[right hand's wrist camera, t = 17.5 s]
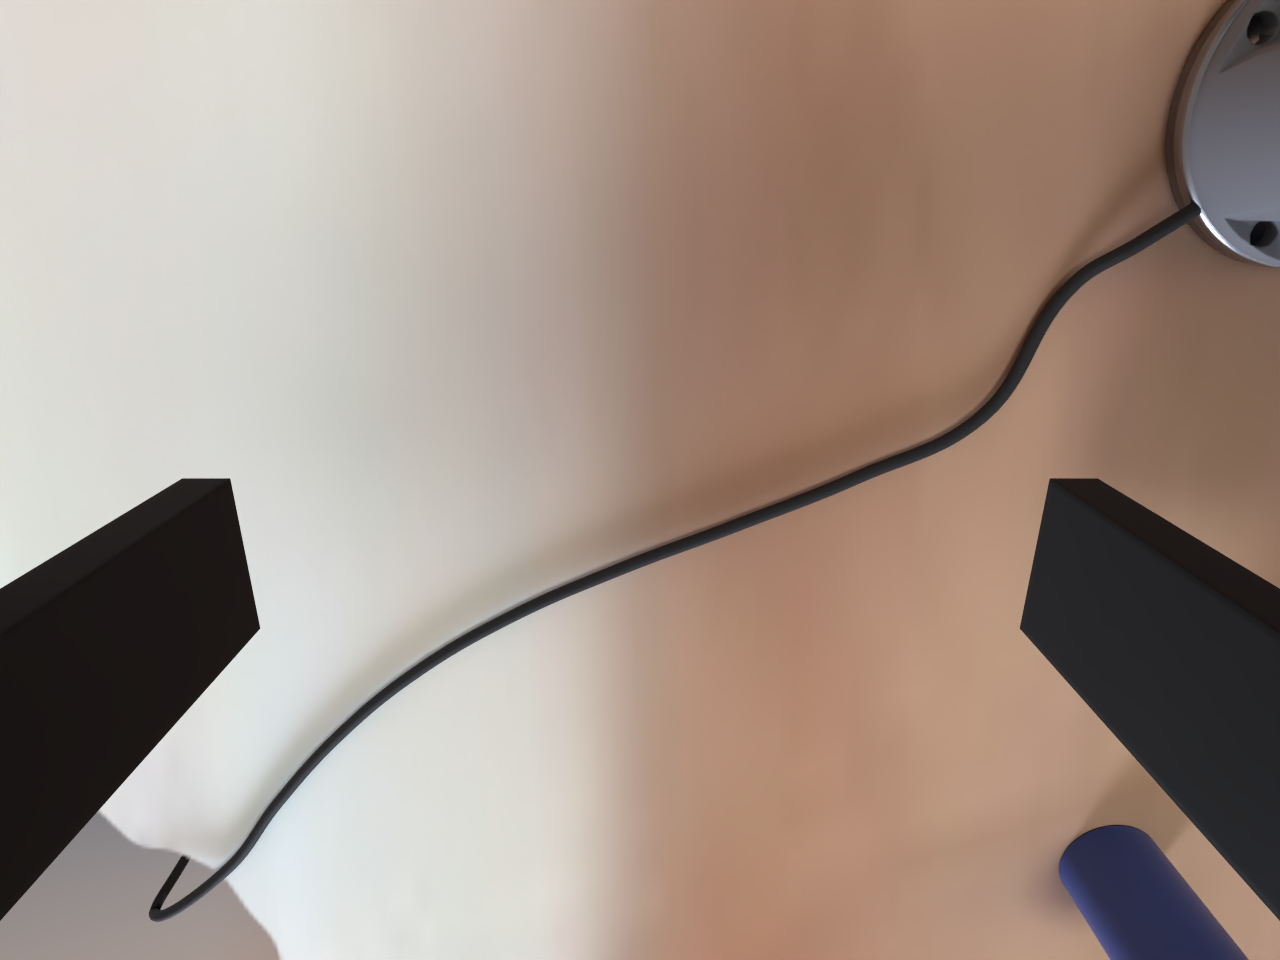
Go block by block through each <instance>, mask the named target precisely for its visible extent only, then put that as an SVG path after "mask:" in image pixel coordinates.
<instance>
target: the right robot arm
mask: <svg viewBox="0 0 1280 960" xmlns="http://www.w3.org/2000/svg"><path fill="white" fill-rule="evenodd" d="M1166 162H1167V172H1168V177H1169V182H1170V186H1171V189H1172V192H1173V195H1174V199H1175V201H1176V203H1177V205H1178V207H1179V211H1178V212H1176V213H1174V214H1173V215H1171V216H1170V217H1168V218H1166V219H1165V220H1163V221H1162V222H1160V223H1158V224H1157V225H1155V226H1154V227H1152V228H1150V229H1149V230H1147V231H1146V232H1144V233H1142V234H1141V235H1139V236H1137V237H1136V238H1134V239H1133V240H1131V241H1129V242H1127V243H1126V244H1124V245H1122V246H1120V247H1118V248H1116V249H1114V250H1112V251H1110V252H1108V253H1106V254H1105V255H1103V256H1101V257H1099V258H1097V259H1095V260H1094V261H1092V262H1090V263H1089V264H1087V265H1086V266H1084V267H1083V268H1081V269H1080V270H1079V271H1078V272H1076V273H1075V274H1074V275H1073V276H1072V277H1071V278H1069V280H1068V281H1067V282H1066V283H1065V284H1064V285H1063V286H1062V287H1061V288H1060V289H1059V290H1058V291H1057V292H1056V293H1055V295H1054V296H1053V297H1052V298H1051V300H1050V301H1049V302H1048V303H1047V305H1046V306H1045V308H1044V309H1043V311H1042V312H1041V314H1040V315H1039V317H1038V319H1037V320H1036V322H1035V324H1034V325H1033V327H1032V329H1031V331H1030V333H1029V335H1028V337H1027V339H1026V341H1025V343H1024V345H1023V347H1022V349H1021V351H1020V353H1019V355H1018V357H1017V359H1016V361H1015V363H1014V365H1013V366H1012V368H1011V370H1010V372H1009V374H1008V375H1007V377H1006V379H1005V380H1004V382H1003V383H1002V385H1001V386H1000V388H999V389H998V390H997V392H996V393H995V394H994V395H993V396H992V398H991V399H990V400H989V401H988V402H987V403H986V404H985V405H984V406H983V407H982V408H981V409H980V410H979V411H978V412H976V413H975V414H974V415H973V416H971V417H970V418H969V419H968V420H966V421H965V422H963V423H962V424H961V425H959V426H958V427H956V428H955V429H953V430H951V431H950V432H948V433H946V434H944V435H943V436H941V437H939V438H937V439H935V440H933V441H931V442H928V443H926V444H924V445H921V446H919V447H916V448H914V449H911V450H909V451H906V452H903V453H901V454H898V455H895V456H893V457H890V458H887V459H885V460H882V461H880V462H877V463H875V464H872V465H869V466H867V467H865V468H862V469H860V470H858V471H856V472H853V473H851V474H849V475H846V476H844V477H842V478H839V479H837V480H835V481H832V482H830V483H828V484H825V485H823V486H820V487H818V488H815V489H813V490H810V491H808V492H805V493H803V494H800V495H798V496H795V497H792V498H790V499H787V500H785V501H782V502H779V503H777V504H774V505H771V506H769V507H766V508H764V509H761V510H758V511H756V512H753V513H750V514H748V515H745V516H743V517H740V518H737V519H735V520H732V521H730V522H727V523H724V524H722V525H719V526H716V527H714V528H711V529H708V530H706V531H703V532H700V533H698V534H695V535H692V536H689V537H687V538H684V539H681V540H678V541H676V542H673V543H670V544H667V545H665V546H662V547H659V548H657V549H654V550H651V551H649V552H646V553H643V554H641V555H638V556H636V557H633V558H631V559H628V560H626V561H623V562H621V563H618V564H616V565H613V566H611V567H608V568H606V569H603V570H601V571H598V572H596V573H593V574H591V575H589V576H586V577H584V578H581V579H579V580H576V581H574V582H571V583H569V584H567V585H564V586H562V587H560V588H557V589H555V590H553V591H550V592H548V593H546V594H544V595H542V596H539V597H537V598H535V599H533V600H531V601H529V602H527V603H525V604H523V605H520V606H518V607H516V608H514V609H512V610H510V611H508V612H506V613H505V614H503V615H501V616H499V617H497V618H495V619H493V620H491V621H489V622H487V623H485V624H483V625H481V626H480V627H478V628H476V629H474V630H472V631H470V632H469V633H467V634H465V635H463V636H462V637H460V638H458V639H456V640H455V641H453V642H451V643H450V644H448V645H446V646H445V647H443V648H442V649H440V650H438V651H437V652H435V653H434V654H432V655H431V656H429V657H428V658H426V659H425V660H423V661H422V662H420V663H419V664H417V665H416V666H414V667H413V668H412V669H410V670H409V671H407V672H406V673H404V674H403V675H402V676H400V677H399V678H398V679H396V680H395V681H394V682H392V683H391V684H389V685H388V686H387V687H386V688H384V689H383V690H382V691H380V692H379V693H378V694H377V695H375V696H374V697H373V698H372V699H371V700H369V701H368V702H367V703H366V704H365V705H364V706H362V707H361V708H360V709H359V710H358V711H357V712H356V713H355V714H353V715H352V716H351V717H350V718H349V719H348V720H347V721H346V722H345V723H344V724H343V725H342V726H341V727H339V728H338V729H337V730H336V731H335V732H334V733H333V734H332V735H331V736H330V737H329V738H328V739H327V740H326V741H325V742H324V743H323V744H322V745H321V746H320V747H319V748H318V749H317V750H316V751H315V752H314V753H313V754H312V756H311V757H310V758H309V759H308V760H307V761H306V762H305V763H304V764H303V766H302V767H301V768H300V769H299V770H298V771H297V772H296V774H295V775H294V776H293V777H292V778H291V780H290V781H289V782H288V783H287V784H286V786H285V787H284V788H283V789H282V790H281V792H280V793H279V794H278V795H277V796H276V798H275V799H274V800H273V801H272V803H271V804H270V805H269V807H268V808H267V809H266V811H265V812H264V813H263V815H262V816H261V818H260V819H259V821H258V822H257V824H256V825H255V827H254V828H253V830H252V832H251V833H250V835H249V836H248V838H247V839H246V841H245V842H244V844H243V845H242V846H241V847H240V849H239V850H238V851H237V852H236V854H235V855H234V856H233V857H232V858H231V859H230V860H229V861H228V862H227V863H226V864H225V865H224V866H223V867H222V868H220V869H219V870H218V871H217V872H216V873H215V874H214V875H212V876H211V877H210V878H209V879H208V880H207V881H205V882H204V883H203V884H202V885H200V886H199V887H198V888H197V889H195V890H194V891H193V892H191V893H190V894H189V895H187V896H186V897H184V898H183V899H182V900H180V901H179V902H177V903H175V904H174V905H172V906H170V907H168V908H166V909H164V910H161V907H162V905H163V903H164V901H165V899H166V898H167V896H168V894H169V893H170V891H171V890H172V888H173V886H174V885H175V883H176V882H177V880H178V879H179V877H180V875H181V874H182V872H183V870H184V869H185V867H186V865H187V864H188V862H189V860H190V859H191V858H190V857H188V856H186V855H183V854H182V856H181V858H180V859H179V861H178V863H177V864H176V866H175V867H174V869H173V871H172V872H171V874H170V875H169V877H168V878H167V880H166V882H165V883H164V885H163V886H162V888H161V889H160V891H159V892H158V894H157V896H156V897H155V899H154V901H153V903H152V905H151V908H150V911H149V917H150V919H151V920H153V921H156V922H160V921H163V920H166V919H169V918H171V917H173V916H175V915H177V914H178V913H180V912H182V911H183V910H185V909H186V908H188V907H189V906H191V905H192V904H193V903H195V902H196V901H198V900H199V899H200V898H201V897H203V896H204V895H205V894H207V893H208V892H209V891H210V890H211V889H213V888H214V887H215V886H216V885H217V884H219V883H220V882H221V881H222V880H223V879H224V878H226V877H227V876H228V875H229V874H230V873H231V872H232V871H233V870H234V869H235V868H236V867H237V866H238V865H239V864H240V863H241V862H242V861H243V860H244V859H245V857H246V856H247V855H248V854H249V852H250V851H251V849H252V848H253V847H254V845H255V844H256V842H257V841H258V839H259V838H260V836H261V835H262V833H263V832H264V830H265V828H266V827H267V825H268V824H269V823H270V821H271V820H272V818H273V817H274V816H275V814H276V813H277V812H278V810H279V809H280V808H281V807H282V805H283V804H284V803H285V802H286V801H287V799H288V798H289V797H290V796H291V795H292V793H293V792H294V791H295V790H296V789H297V788H298V786H299V785H300V784H301V783H302V782H303V780H304V779H305V778H306V777H307V776H308V775H309V774H310V772H311V771H312V770H313V769H314V768H315V767H316V766H317V765H318V764H319V763H320V762H321V761H322V759H323V758H324V757H325V756H326V755H327V754H328V753H329V752H330V751H331V750H332V749H333V748H334V747H335V746H336V745H337V744H338V743H340V742H341V741H342V740H343V739H344V738H345V737H346V736H347V735H348V734H349V733H350V732H351V731H352V730H353V729H354V728H356V727H357V726H358V725H359V724H360V723H361V722H362V721H363V720H364V719H366V718H367V717H368V716H369V715H370V714H371V713H372V712H374V711H375V710H376V709H377V708H378V707H380V706H381V705H382V704H383V703H385V702H386V701H387V700H388V699H390V698H391V697H392V696H394V695H395V694H396V693H398V692H399V691H400V690H402V689H403V688H404V687H406V686H407V685H409V684H410V683H411V682H413V681H414V680H416V679H417V678H419V677H420V676H421V675H423V674H424V673H426V672H427V671H429V670H430V669H432V668H433V667H435V666H436V665H438V664H439V663H441V662H442V661H444V660H446V659H447V658H449V657H450V656H452V655H454V654H455V653H457V652H459V651H460V650H462V649H464V648H466V647H467V646H469V645H471V644H473V643H475V642H476V641H478V640H480V639H482V638H484V637H486V636H487V635H489V634H491V633H493V632H495V631H497V630H499V629H501V628H503V627H505V626H507V625H509V624H511V623H513V622H515V621H517V620H519V619H521V618H523V617H525V616H527V615H529V614H531V613H533V612H535V611H537V610H539V609H542V608H544V607H546V606H548V605H550V604H553V603H555V602H557V601H559V600H562V599H564V598H566V597H569V596H571V595H574V594H576V593H578V592H581V591H583V590H586V589H588V588H591V587H593V586H596V585H598V584H601V583H603V582H606V581H608V580H611V579H613V578H615V577H618V576H620V575H623V574H625V573H628V572H630V571H633V570H635V569H638V568H641V567H643V566H646V565H648V564H651V563H654V562H656V561H659V560H662V559H664V558H667V557H670V556H673V555H675V554H678V553H681V552H684V551H686V550H689V549H692V548H695V547H697V546H700V545H703V544H706V543H708V542H711V541H714V540H717V539H719V538H722V537H725V536H727V535H730V534H732V533H735V532H738V531H740V530H743V529H746V528H748V527H751V526H753V525H756V524H759V523H761V522H764V521H767V520H769V519H772V518H775V517H777V516H780V515H783V514H785V513H788V512H791V511H793V510H796V509H798V508H801V507H804V506H806V505H809V504H811V503H814V502H816V501H819V500H821V499H824V498H826V497H829V496H831V495H834V494H836V493H839V492H841V491H843V490H846V489H848V488H850V487H853V486H855V485H857V484H859V483H862V482H864V481H866V480H869V479H871V478H873V477H876V476H878V475H881V474H884V473H886V472H889V471H891V470H894V469H897V468H899V467H902V466H905V465H908V464H910V463H913V462H916V461H918V460H921V459H923V458H926V457H928V456H930V455H933V454H935V453H937V452H939V451H941V450H943V449H946V448H947V447H949V446H951V445H953V444H955V443H957V442H958V441H960V440H961V439H963V438H965V437H966V436H968V435H969V434H970V433H972V432H973V431H975V430H976V429H977V428H979V427H980V426H981V425H982V424H984V423H985V422H986V421H987V420H988V419H989V418H990V417H992V416H993V415H994V414H995V413H996V412H997V411H998V410H999V409H1000V408H1001V406H1002V405H1003V404H1004V403H1005V402H1006V401H1007V400H1008V398H1009V397H1010V395H1011V394H1012V393H1013V391H1014V390H1015V388H1016V387H1017V385H1018V384H1019V382H1020V380H1021V379H1022V377H1023V375H1024V373H1025V372H1026V370H1027V368H1028V366H1029V364H1030V362H1031V360H1032V358H1033V356H1034V354H1035V352H1036V350H1037V348H1038V346H1039V344H1040V342H1041V340H1042V338H1043V337H1044V335H1045V333H1046V331H1047V329H1048V328H1049V326H1050V324H1051V323H1052V321H1053V319H1054V318H1055V316H1056V315H1057V314H1058V312H1059V311H1060V309H1061V308H1062V307H1063V306H1064V304H1065V303H1066V302H1067V301H1068V300H1069V298H1070V297H1071V296H1072V295H1073V294H1074V293H1075V292H1076V291H1077V290H1078V289H1079V288H1080V287H1081V286H1082V285H1084V284H1085V283H1086V282H1087V281H1089V280H1090V279H1091V278H1093V277H1094V276H1096V275H1097V274H1099V273H1101V272H1102V271H1104V270H1106V269H1108V268H1110V267H1112V266H1114V265H1116V264H1118V263H1120V262H1122V261H1124V260H1126V259H1127V258H1129V257H1131V256H1133V255H1135V254H1137V253H1138V252H1140V251H1142V250H1143V249H1145V248H1147V247H1148V246H1150V245H1152V244H1153V243H1155V242H1156V241H1158V240H1160V239H1161V238H1163V237H1165V236H1166V235H1168V234H1169V233H1171V232H1173V231H1174V230H1176V229H1178V228H1179V227H1181V226H1182V225H1184V224H1186V223H1188V224H1189V226H1190V227H1191V228H1192V229H1193V231H1194V232H1195V233H1196V234H1197V235H1198V236H1199V237H1200V238H1201V239H1202V240H1203V241H1204V242H1206V243H1207V244H1208V245H1209V246H1211V247H1212V248H1213V249H1215V250H1217V251H1218V252H1220V253H1222V254H1224V255H1225V256H1228V257H1230V258H1232V259H1235V260H1237V261H1241V262H1244V263H1248V264H1252V265H1258V266H1265V267H1274V268H1280V0H1229V1H1228V2H1227V3H1226V4H1225V5H1224V6H1223V8H1222V9H1221V10H1220V11H1219V12H1218V14H1217V15H1216V16H1215V17H1214V19H1213V20H1212V21H1211V23H1210V24H1209V25H1208V27H1207V28H1206V30H1205V31H1204V33H1203V34H1202V36H1201V38H1200V39H1199V41H1198V42H1197V44H1196V46H1195V48H1194V49H1193V51H1192V53H1191V55H1190V57H1189V59H1188V61H1187V63H1186V65H1185V67H1184V70H1183V72H1182V74H1181V76H1180V79H1179V82H1178V85H1177V88H1176V90H1175V93H1174V97H1173V101H1172V105H1171V108H1170V113H1169V119H1168V125H1167V135H1166ZM259 629H260V625H259V620H258V615H257V610H256V605H255V600H254V595H253V590H252V585H251V580H250V575H249V570H248V565H247V560H246V555H245V550H244V545H243V540H242V535H241V530H240V525H239V520H238V515H237V510H236V505H235V500H234V495H233V490H232V485H231V480H230V479H181V480H179V481H178V482H176V483H174V484H173V485H171V486H169V487H168V488H166V489H164V490H163V491H161V492H159V493H158V494H156V495H154V496H153V497H151V498H149V499H148V500H146V501H145V502H143V503H141V504H140V505H138V506H136V507H135V508H133V509H131V510H130V511H128V512H126V513H125V514H123V515H121V516H120V517H118V518H116V519H115V520H113V521H112V522H110V523H108V524H107V525H105V526H103V527H102V528H100V529H98V530H97V531H95V532H93V533H92V534H90V535H88V536H87V537H85V538H83V539H82V540H80V541H78V542H77V543H75V544H74V545H72V546H70V547H69V548H67V549H65V550H64V551H62V552H60V553H59V554H57V555H55V556H54V557H52V558H50V559H49V560H47V561H45V562H44V563H42V564H41V565H39V566H37V567H36V568H34V569H32V570H31V571H29V572H27V573H26V574H24V575H22V576H21V577H19V578H17V579H16V580H14V581H12V582H11V583H9V584H8V585H6V586H4V587H3V588H1V589H0V920H1V919H2V918H3V917H4V916H5V915H6V914H7V912H8V911H9V910H10V909H11V908H12V907H13V906H14V905H15V903H16V902H17V901H18V900H19V899H20V898H21V897H22V896H23V894H24V893H25V892H26V891H27V890H28V889H29V888H30V887H31V886H32V884H33V883H34V882H35V881H36V880H37V879H38V878H39V876H40V875H41V874H42V873H43V872H44V871H45V870H46V869H47V868H48V866H49V865H50V864H51V863H52V862H53V861H54V860H55V859H56V857H57V856H58V855H59V854H60V853H61V852H62V851H63V850H64V848H65V847H66V846H67V845H68V844H69V843H70V842H71V840H72V839H73V838H74V837H75V836H76V835H77V834H78V833H79V831H80V830H81V829H82V828H83V827H84V826H85V825H86V824H87V823H88V821H89V820H90V819H91V818H92V817H93V816H94V815H95V814H96V812H97V811H98V810H99V809H100V808H101V807H102V806H103V805H104V803H105V802H106V801H107V800H108V799H109V798H110V797H111V796H112V794H113V793H114V792H115V791H116V790H117V789H118V788H119V787H120V785H121V784H122V783H123V782H124V781H125V780H126V779H127V778H128V776H129V775H130V774H131V773H132V772H133V771H134V770H135V769H136V767H137V766H138V765H139V764H140V763H141V762H142V761H143V760H144V758H145V757H146V756H147V755H148V754H149V753H150V752H151V751H152V749H153V748H154V747H155V746H156V745H157V744H158V743H159V742H160V740H161V739H162V738H163V737H164V736H165V735H166V734H167V733H168V731H169V730H170V729H171V728H172V727H173V726H174V725H175V724H176V722H177V721H178V720H179V719H180V718H181V717H182V716H183V715H184V713H185V712H186V711H187V710H188V709H189V708H190V707H191V706H192V704H193V703H194V702H195V701H196V700H197V699H198V698H199V697H200V695H201V694H202V693H203V692H204V691H205V690H206V689H207V688H208V686H209V685H210V684H211V683H212V682H213V681H214V680H215V679H216V677H217V676H218V675H219V674H220V673H221V672H222V671H223V670H224V668H225V667H226V666H227V665H228V664H229V663H230V662H231V661H232V659H233V658H234V657H235V656H236V655H237V654H238V653H239V652H240V650H241V649H242V648H243V647H244V646H245V645H246V644H247V643H248V641H249V640H250V639H251V638H252V637H253V636H254V635H255V634H256V632H257V631H258V630H259ZM1020 629H1021V630H1022V631H1023V632H1024V634H1025V635H1026V636H1027V637H1028V638H1029V639H1030V640H1031V641H1032V643H1033V644H1034V645H1035V646H1036V647H1037V648H1038V649H1039V650H1040V652H1041V653H1042V654H1043V655H1044V656H1045V657H1046V658H1047V659H1048V661H1049V662H1050V663H1051V664H1052V665H1053V666H1054V667H1055V668H1056V670H1057V671H1058V672H1059V673H1060V674H1061V675H1062V676H1063V677H1064V679H1065V680H1066V681H1067V682H1068V683H1069V684H1070V685H1071V686H1072V688H1073V689H1074V690H1075V691H1076V692H1077V693H1078V694H1079V695H1080V697H1081V698H1082V699H1083V700H1084V701H1085V702H1086V703H1087V704H1088V706H1089V707H1090V708H1091V709H1092V710H1093V711H1094V712H1095V713H1096V715H1097V716H1098V717H1099V718H1100V719H1101V720H1102V721H1103V722H1104V724H1105V725H1106V726H1107V727H1108V728H1109V729H1110V730H1111V731H1112V733H1113V734H1114V735H1115V736H1116V737H1117V738H1118V739H1119V740H1120V742H1121V743H1122V744H1123V745H1124V746H1125V747H1126V748H1127V749H1128V751H1129V752H1130V753H1131V754H1132V755H1133V756H1134V757H1135V758H1136V760H1137V761H1138V762H1139V763H1140V764H1141V765H1142V766H1143V767H1144V769H1145V770H1146V771H1147V772H1148V773H1149V774H1150V775H1151V776H1152V778H1153V779H1154V780H1155V781H1156V782H1157V783H1158V784H1159V785H1160V787H1161V788H1162V789H1163V790H1164V791H1165V792H1166V793H1167V794H1168V796H1169V797H1170V798H1171V799H1172V800H1173V801H1174V802H1175V803H1176V805H1177V806H1178V807H1179V808H1180V809H1181V810H1182V811H1183V812H1184V814H1185V815H1186V816H1187V817H1188V818H1189V819H1190V820H1191V821H1192V823H1193V824H1194V825H1195V826H1196V827H1197V828H1198V829H1199V830H1200V832H1201V833H1202V834H1203V835H1204V836H1205V837H1206V838H1207V839H1208V841H1209V842H1210V843H1211V844H1212V845H1213V846H1214V847H1215V848H1216V850H1217V851H1218V852H1219V853H1220V854H1221V855H1222V856H1223V857H1224V859H1225V860H1226V861H1227V862H1228V863H1229V864H1230V865H1231V866H1232V868H1233V869H1234V870H1235V871H1236V872H1237V873H1238V874H1239V875H1240V877H1241V878H1242V879H1243V880H1244V881H1245V882H1246V883H1247V884H1248V886H1249V887H1250V888H1251V889H1252V890H1253V891H1254V892H1255V893H1256V895H1257V896H1258V897H1259V898H1260V899H1261V900H1262V901H1263V902H1264V904H1265V905H1266V906H1267V907H1268V908H1269V909H1270V910H1271V911H1272V913H1273V914H1274V915H1275V916H1276V917H1277V918H1278V919H1279V920H1280V589H1279V588H1277V587H1276V586H1274V585H1272V584H1271V583H1269V582H1268V581H1266V580H1264V579H1263V578H1261V577H1259V576H1258V575H1256V574H1254V573H1253V572H1251V571H1249V570H1248V569H1246V568H1244V567H1243V566H1241V565H1239V564H1238V563H1236V562H1235V561H1233V560H1231V559H1230V558H1228V557H1226V556H1225V555H1223V554H1221V553H1220V552H1218V551H1216V550H1215V549H1213V548H1211V547H1210V546H1208V545H1206V544H1205V543H1203V542H1202V541H1200V540H1198V539H1197V538H1195V537H1193V536H1192V535H1190V534H1188V533H1187V532H1185V531H1183V530H1182V529H1180V528H1178V527H1177V526H1175V525H1173V524H1172V523H1170V522H1168V521H1167V520H1165V519H1164V518H1162V517H1160V516H1159V515H1157V514H1155V513H1154V512H1152V511H1150V510H1149V509H1147V508H1145V507H1144V506H1142V505H1140V504H1139V503H1137V502H1135V501H1134V500H1132V499H1131V498H1129V497H1127V496H1126V495H1124V494H1122V493H1121V492H1119V491H1117V490H1116V489H1114V488H1112V487H1111V486H1109V485H1107V484H1106V483H1104V482H1102V481H1101V480H1099V479H1050V480H1049V485H1048V490H1047V495H1046V500H1045V505H1044V510H1043V515H1042V520H1041V525H1040V530H1039V535H1038V540H1037V545H1036V550H1035V555H1034V560H1033V565H1032V570H1031V575H1030V580H1029V585H1028V590H1027V595H1026V600H1025V605H1024V610H1023V615H1022V620H1021V625H1020Z"/></svg>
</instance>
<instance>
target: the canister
mask: <svg viewBox="0 0 1280 960" xmlns="http://www.w3.org/2000/svg"><path fill="white" fill-rule="evenodd" d="M1059 874H1060V878H1061V880H1062V882H1063V884H1064V886H1065V887H1066V889H1067V891H1068V892H1069V894H1070V895H1071V897H1072V899H1073V900H1074V902H1075V903H1076V905H1077V907H1078V908H1079V910H1080V912H1081V913H1082V915H1083V916H1084V918H1085V920H1086V921H1087V923H1088V924H1089V926H1090V928H1091V929H1092V931H1093V932H1094V934H1095V936H1096V937H1097V939H1098V941H1099V942H1100V944H1101V945H1102V947H1103V949H1104V950H1105V952H1106V953H1107V955H1108V957H1109V958H1110V960H1249V959H1248V958H1247V957H1246V956H1245V954H1244V953H1243V952H1242V951H1241V949H1240V948H1239V947H1238V946H1237V944H1236V943H1235V942H1234V941H1233V939H1232V938H1231V937H1230V936H1229V934H1228V933H1227V932H1226V931H1225V929H1224V928H1223V927H1222V926H1221V924H1220V923H1219V922H1218V921H1217V920H1216V918H1215V917H1214V916H1213V915H1212V913H1211V912H1210V911H1209V910H1208V908H1207V907H1206V906H1205V905H1204V903H1203V902H1202V901H1201V900H1200V898H1199V897H1198V896H1197V895H1196V893H1195V892H1194V891H1193V890H1192V888H1191V887H1190V886H1189V885H1188V883H1187V882H1186V881H1185V880H1184V878H1183V877H1182V876H1181V875H1180V873H1179V872H1178V871H1177V870H1176V868H1175V867H1174V866H1173V865H1172V863H1171V862H1170V861H1169V860H1168V858H1167V857H1166V856H1165V855H1164V853H1163V852H1162V851H1161V850H1160V848H1159V847H1158V846H1157V845H1156V844H1155V842H1154V841H1153V840H1152V839H1151V838H1150V837H1149V835H1147V834H1146V833H1145V832H1143V831H1141V830H1139V829H1136V828H1134V827H1129V826H1121V825H1115V826H1107V827H1102V828H1098V829H1095V830H1093V831H1090V832H1088V833H1086V834H1084V835H1082V836H1081V837H1079V838H1078V839H1077V840H1075V841H1074V842H1073V843H1072V844H1071V845H1070V846H1069V847H1068V848H1067V850H1066V851H1065V852H1064V854H1063V856H1062V858H1061V861H1060V865H1059Z"/></svg>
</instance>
